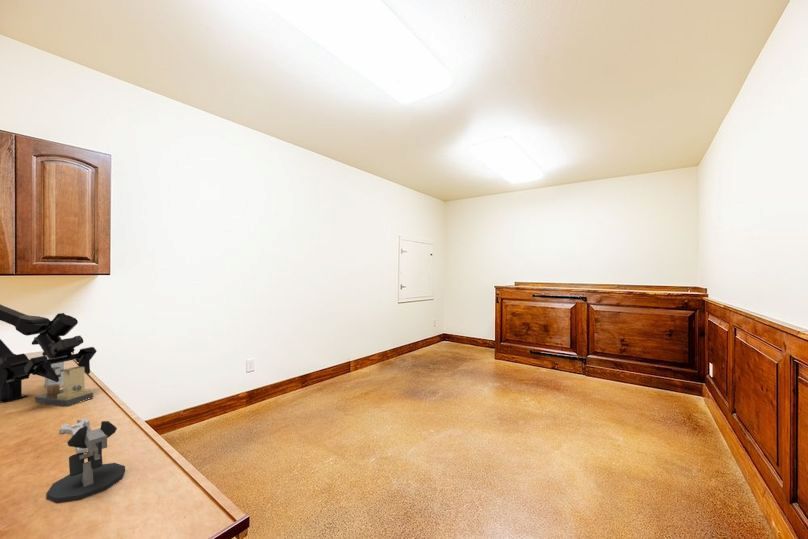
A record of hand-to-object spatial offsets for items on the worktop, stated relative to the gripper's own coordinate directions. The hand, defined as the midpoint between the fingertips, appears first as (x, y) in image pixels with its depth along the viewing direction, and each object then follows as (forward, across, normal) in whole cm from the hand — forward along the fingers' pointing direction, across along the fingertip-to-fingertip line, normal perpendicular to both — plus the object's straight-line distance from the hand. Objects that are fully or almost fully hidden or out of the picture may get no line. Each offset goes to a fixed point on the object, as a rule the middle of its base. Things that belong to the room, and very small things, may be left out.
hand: (74, 377), depth 122 cm
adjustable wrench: (+30, -19, -17) cm, 39 cm away
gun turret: (+48, -32, -34) cm, 67 cm away
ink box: (-14, +10, +27) cm, 32 cm away
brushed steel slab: (+3, 0, +10) cm, 10 cm away
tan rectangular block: (+5, 0, +5) cm, 7 cm away
